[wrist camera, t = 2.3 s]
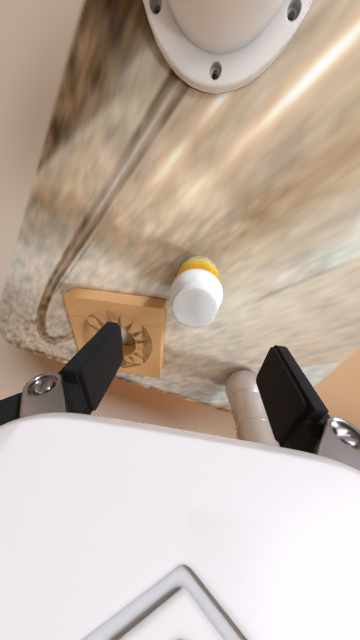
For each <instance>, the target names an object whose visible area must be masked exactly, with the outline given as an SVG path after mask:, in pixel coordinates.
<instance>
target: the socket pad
mask: <svg viewBox="0 0 360 640" xmlns="http://www.w3.org/2000/svg"><path fill="white" fill-rule="evenodd" d="M63 299H64V302H65V306H66V309H67V312H68V316H69V320H70V323H71V326H72V330H73V333H74V336H75V340H76V343H77V347H78V350H80V349H81V348H82V347H83V346H84V345H85V344H86V343H87V342H88V341H89V340H90V339H91V338H92V337H93V336H94V335H95V334H96V333H97V332H98V331H99V330H100V329H101V328H102V326H103V325H104V324H105V323H106V322H115V323H117V324H118V325H119V326H120V327H121V328H123V329H125V330H127V331H128V332H129V333H130V334H131V335H132V336H133V338H134V339H135V341H136V344H133V345H125V344H122V347H123V357H124V358H123V362H122V364H121V366H120V368H119V369H118V371H117V372H123V373H129V374H136V375H142V376H149V377H155V378H160V375H161V371H162V368H163V356H164V338H165V320H166V318H165V317H166V302H167V300H166V299H158V298H151V297H143V296H136V295H128V294H121V293H113V292H106V291H98V290H91V289H83V288H74V289H72V290H71V291H69V292H67V293H65V294H64V295H63Z"/></svg>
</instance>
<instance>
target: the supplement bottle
mask: <svg viewBox="0 0 360 640" xmlns="http://www.w3.org/2000/svg"><path fill="white" fill-rule="evenodd" d="M222 299H223V290H222V286H221V282H220V279H219V275H218V271H217V268H216V267H215V265H214V264H213V263H212V262H211V261H210V260H208V259H207V258H204V257H192V258H189V259H187V260H186V261H185V262H184V263H183V264H182V265H181V267H180V268H179V270H178V272H177V274H176V277H175V279H174V281H173V283H172V286H171V289H170V300H171V303H172V311H173V314H174V316H175V318H176V319H177V320H178V321H179V322H180V323H181V324H183V325H185V326H187V327H192V328H198V327H203V326H206V325H207V324H209V323H210V322H212V321H213V319H214V318H215V317H216V314H217V311H218V308H219V307H220V305H221V302H222Z"/></svg>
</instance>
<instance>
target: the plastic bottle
mask: <svg viewBox="0 0 360 640" xmlns="http://www.w3.org/2000/svg"><path fill="white" fill-rule="evenodd" d="M256 377H257V375H256V374H255V373H253V372H251V371H247V370H241V371H237V372H234V373H233V374H231V375H230V377H229V378H228V379H227V382H226V394H227V397H228V400H229V403H230V405H231V409H232V414H233V418H234V422H235V429H236V439H239V440H245V441H250V442H256V443H262V444H267V445H273V446H278V447H280V446H279V443H278V441H276V440H275V438H274V436H273V432H272V429H271V426H270V423H269V420H268V417H267V414H266V411H265V408H264V405H263V402H262V399H261V396H260V393H259V390H258V387H257V384H256Z"/></svg>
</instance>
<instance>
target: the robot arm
mask: <svg viewBox="0 0 360 640" xmlns="http://www.w3.org/2000/svg"><path fill="white" fill-rule="evenodd" d="M312 1H313V0H143V3H144V7H145V11H146V14H147V18H148V21H149V24H150V27H151V30H152V32H153V35H154V38H155V41H156V43H157V45H158V47H159V49H160V51H161V53H162V55H163V56H164V58H165V60H166V62H167V63H168V64H169V66H170V67H171V68H172V69H173V71H174V72H175V73H176V75H177V76H178V77H180V78H181V79H182V80H183V81H184V82H186V83H187V84H188V85H189V86H191V87H193V88H196V89H198V90H200V91H202V92H207V93H214V94H219V93H226V92H232V91H234V90H236V89H239V88H241V87H243V86H246V85H247V84H249V83H250V82H252V81H253V80H254V79H256V78H257V77H259V76H260V75H261V74H262V73H263V72H264V71H265V70H266V69H267V68H268V67H269V66H270V65H271V64H272V63H273V62H274V61H275V60H276V59H277V58H278V57H279V55H280V54H281V53H282V51H283V50H284V49H285V47H286V46H287V45H288V43H289V42H290V41H291V39H292V38H293V36H294V34H295V32H296V31H297V29H298V27H299V25H300V24H301V22H302V20H303V18H304V17H305V15H306V13H307V11H308V9H309V7H310V5H311V3H312ZM158 10H159V11H160V12H159V13H157V14H156V12H157V11H158ZM288 17H290V18H291V19H292V21H289V20H288ZM214 74H216V75H217V76H218V79H216V80H213V79H212V76H213V75H214ZM123 358H124V357H123V347H122V338H121V328H120V326H119V325H118V324H117V323H115V322H106V323H105V324H104V325H103V326H102V328H101V329H100V330H99V331H98V332H97V333H96V334H95V335H94V336H93V337H92V338H91V339H90V340H89V341H88V342H87V343H86V344H85V345H84V346H83V347H82V348H81V349H80V350H79V351H78V353H77V354H76V355H75V356H74V357H73V358H72V359H71V360H70V361H69V362H68V363H67V364H66V365H65V367H64V368H63V369H62V370H61V371H60V372H59V373H55V372H47V373H43V374H40V375H38V376H36V377H34V378H33V379H31V380H30V381H29V382H27V384H26V385H25V386H24V388H23V391H22V392H21V393H18V394H16V395H13V396H11V397H8V398H5V399H3V400H0V640H360V430H358V429H357V428H356V427H355V426H354V425H352V424H351V423H349V422H348V421H346V420H344V419H341V418H338V417H330V416H329V415H328V410H327V408H326V407H325V405H324V403H323V402H322V400H321V399H320V397H319V396H318V394H317V393H316V391H315V390H314V388H313V387H312V385H311V384H310V382H309V381H308V379H307V378H306V376H305V375H304V373H303V372H302V370H301V369H300V367H299V365H298V364H297V362H296V361H295V359H294V358H293V356H292V355H291V353H290V352H289V350H288V349H287V348H286V347H284V346H276V345H275V346H274V347H271V348H270V350H269V352H268V354H267V356H266V358H265V360H264V362H263V365H262V367H261V369H260V371H259V373H258V375H257V377H256V384H257V387H258V390H259V393H260V396H261V399H262V402H263V405H264V408H265V411H266V414H267V417H268V420H269V423H270V426H271V429H272V432H273V436H274V438H275V440H276V441H278V443H279V446H280V447H278V446H273V445H267V444H262V443H256V442H250V441H245V440H239V439H233V438H227V437H222V436H216V435H210V434H204V433H198V432H192V431H187V430H181V429H175V428H169V427H163V426H157V425H151V424H145V423H139V422H133V421H126V420H120V419H114V418H108V417H101V416H94V415H90V414H91V412H92V411H93V410H96V409H97V407H98V405H99V403H100V401H101V400H102V398H103V396H104V394H105V392H106V391H107V389H108V387H109V385H110V384H111V382H112V380H113V378H114V377H115V375H116V373H117V371H118V369H119V368H120V366H121V364H122V362H123Z"/></svg>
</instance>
